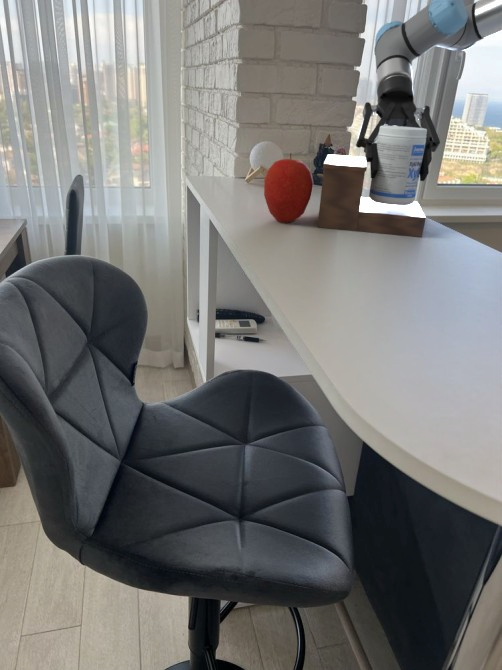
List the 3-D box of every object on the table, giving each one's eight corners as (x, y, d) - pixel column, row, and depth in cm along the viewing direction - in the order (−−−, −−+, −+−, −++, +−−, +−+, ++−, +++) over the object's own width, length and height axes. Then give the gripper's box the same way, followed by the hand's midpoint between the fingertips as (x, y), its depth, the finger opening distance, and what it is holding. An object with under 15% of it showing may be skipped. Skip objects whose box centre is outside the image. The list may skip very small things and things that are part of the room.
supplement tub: (413, 208, 102) (428, 130, 95) (365, 203, 104) (377, 126, 98) (414, 200, 110) (428, 127, 104) (370, 195, 113) (381, 124, 106)
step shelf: (414, 219, 116) (425, 161, 110) (421, 237, 101) (435, 172, 96) (321, 210, 119) (327, 154, 113) (316, 227, 104) (323, 163, 99)
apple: (314, 227, 104) (321, 156, 98) (266, 226, 103) (271, 154, 97) (303, 215, 113) (309, 150, 107) (259, 214, 112) (262, 148, 106)
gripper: (438, 103, 113) (446, 189, 105) (340, 98, 112) (341, 183, 105) (452, 76, 105) (461, 166, 98) (347, 70, 105) (348, 160, 98)
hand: (399, 175), depth 102 cm, fingers closed on supplement tub, 9 cm apart
